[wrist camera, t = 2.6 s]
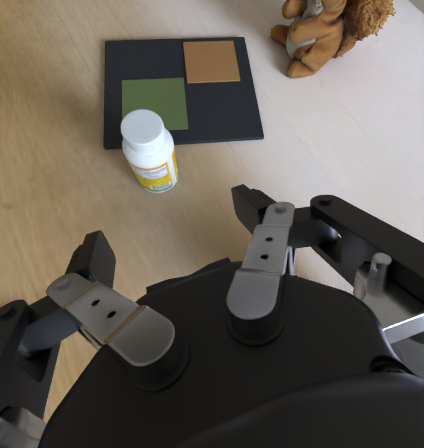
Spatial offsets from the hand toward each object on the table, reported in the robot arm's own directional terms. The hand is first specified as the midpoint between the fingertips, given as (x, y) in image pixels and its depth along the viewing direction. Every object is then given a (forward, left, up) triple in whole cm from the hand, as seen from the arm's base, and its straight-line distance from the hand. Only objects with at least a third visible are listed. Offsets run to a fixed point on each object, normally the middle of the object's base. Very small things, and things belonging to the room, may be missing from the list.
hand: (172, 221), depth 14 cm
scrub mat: (+1, +25, -15) cm, 29 cm away
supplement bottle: (-3, +11, -15) cm, 19 cm away
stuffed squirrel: (+23, +31, -15) cm, 42 cm away
